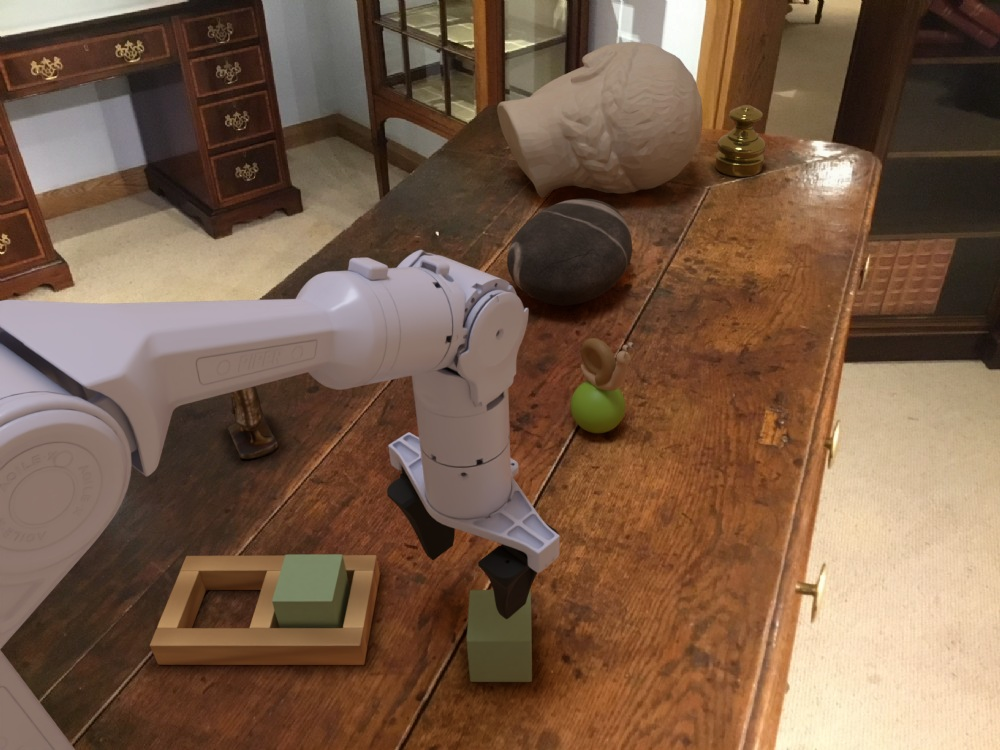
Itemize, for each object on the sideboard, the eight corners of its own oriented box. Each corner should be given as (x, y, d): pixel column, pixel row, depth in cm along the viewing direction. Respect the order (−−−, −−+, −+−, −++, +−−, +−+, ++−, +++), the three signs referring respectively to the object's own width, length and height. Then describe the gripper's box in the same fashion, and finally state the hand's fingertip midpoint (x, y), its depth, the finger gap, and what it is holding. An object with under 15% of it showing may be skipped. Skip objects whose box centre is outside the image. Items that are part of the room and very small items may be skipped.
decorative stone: (545, 242, 118) (545, 174, 112) (647, 259, 113) (652, 189, 107) (489, 312, 104) (486, 239, 98) (602, 335, 99) (606, 260, 93)
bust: (506, 163, 144) (685, 140, 142) (509, 233, 126) (714, 208, 123) (489, 39, 131) (685, 11, 129) (490, 97, 113) (718, 65, 111)
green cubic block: (341, 642, 67) (332, 601, 64) (283, 642, 67) (271, 601, 64) (351, 594, 70) (342, 554, 67) (296, 594, 71) (285, 554, 68)
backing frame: (364, 665, 65) (360, 645, 63) (158, 665, 66) (149, 645, 64) (380, 574, 72) (376, 554, 70) (193, 575, 73) (186, 555, 71)
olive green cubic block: (532, 682, 63) (531, 641, 60) (470, 682, 63) (466, 641, 60) (531, 630, 67) (530, 589, 64) (473, 630, 67) (469, 589, 64)
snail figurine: (603, 457, 83) (608, 356, 76) (559, 425, 87) (560, 326, 80) (642, 433, 85) (651, 334, 78) (597, 403, 89) (602, 306, 82)
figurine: (284, 460, 84) (253, 333, 75) (246, 473, 83) (209, 346, 74) (264, 418, 89) (232, 295, 80) (227, 430, 88) (191, 307, 79)
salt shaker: (772, 170, 135) (782, 108, 129) (736, 181, 132) (745, 118, 126) (740, 155, 140) (748, 95, 134) (704, 166, 137) (712, 104, 131)
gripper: (594, 458, 52) (587, 602, 60) (435, 363, 60) (448, 500, 68) (513, 521, 48) (517, 665, 56) (355, 409, 56) (379, 549, 64)
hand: (475, 578), depth 62 cm, fingers open, 7 cm apart
